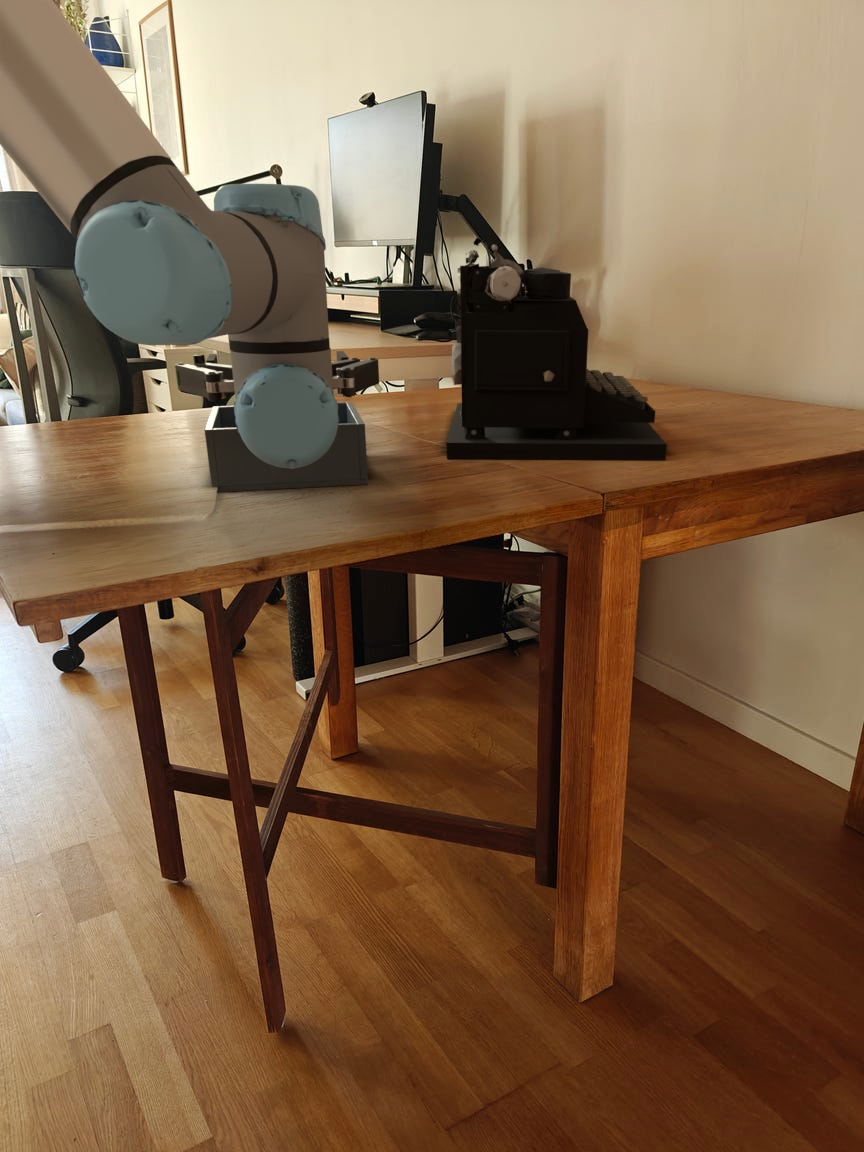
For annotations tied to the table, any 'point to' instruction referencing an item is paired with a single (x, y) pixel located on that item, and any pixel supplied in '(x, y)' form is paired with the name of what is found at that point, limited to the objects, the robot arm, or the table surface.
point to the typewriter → (537, 375)
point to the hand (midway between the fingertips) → (278, 365)
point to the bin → (247, 472)
